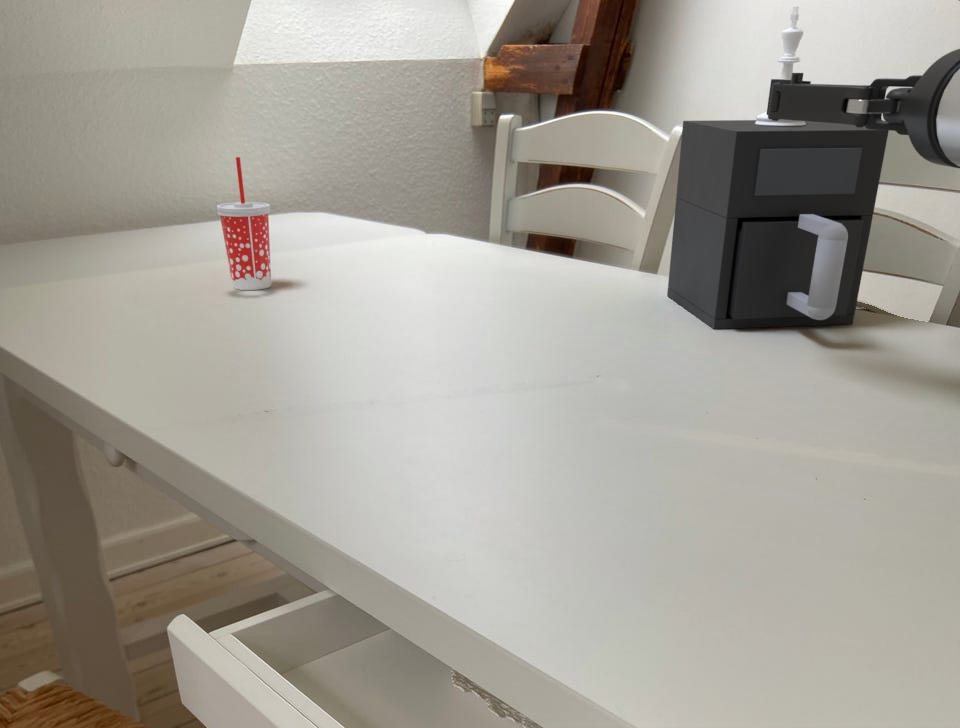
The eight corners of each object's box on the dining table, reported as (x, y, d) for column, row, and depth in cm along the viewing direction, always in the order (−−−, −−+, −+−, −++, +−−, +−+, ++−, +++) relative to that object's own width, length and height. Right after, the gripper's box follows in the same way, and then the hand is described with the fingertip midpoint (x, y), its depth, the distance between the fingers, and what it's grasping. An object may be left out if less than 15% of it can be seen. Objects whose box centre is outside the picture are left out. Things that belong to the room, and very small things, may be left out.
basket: (882, 333, 95) (904, 223, 90) (762, 338, 94) (777, 226, 89) (785, 284, 115) (799, 192, 110) (684, 287, 114) (694, 194, 109)
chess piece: (808, 124, 101) (826, 7, 96) (801, 126, 97) (818, 5, 92) (759, 122, 103) (774, 8, 98) (750, 125, 99) (765, 6, 94)
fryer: (854, 325, 103) (890, 129, 94) (714, 330, 101) (737, 131, 92) (790, 292, 117) (817, 119, 108) (666, 296, 115) (683, 120, 106)
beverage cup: (273, 279, 124) (260, 154, 117) (282, 289, 119) (269, 158, 112) (222, 283, 122) (206, 155, 115) (230, 292, 117) (214, 160, 110)
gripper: (802, 170, 70) (704, 145, 88) (1130, 168, 73) (969, 144, 91) (822, 45, 66) (715, 46, 84) (1167, 48, 69) (991, 48, 87)
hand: (847, 97), depth 87 cm, fingers open, 13 cm apart
